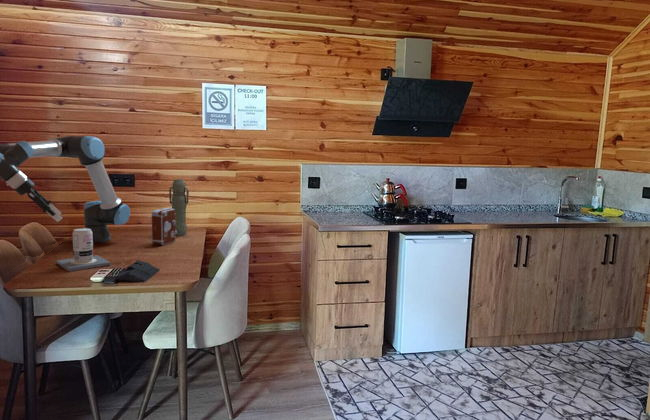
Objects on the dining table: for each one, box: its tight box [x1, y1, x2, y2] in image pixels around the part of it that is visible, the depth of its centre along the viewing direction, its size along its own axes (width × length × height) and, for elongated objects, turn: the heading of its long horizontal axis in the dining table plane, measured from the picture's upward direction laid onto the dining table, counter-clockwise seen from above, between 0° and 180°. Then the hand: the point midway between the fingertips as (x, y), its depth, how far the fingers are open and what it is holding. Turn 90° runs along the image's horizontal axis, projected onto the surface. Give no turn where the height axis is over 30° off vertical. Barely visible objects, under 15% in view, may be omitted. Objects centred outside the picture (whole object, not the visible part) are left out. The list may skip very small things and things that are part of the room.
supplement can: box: [72, 227, 94, 263], centre depth 221 cm, size 8×8×15 cm
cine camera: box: [151, 207, 177, 246], centre depth 275 cm, size 9×19×20 cm, turn 166°
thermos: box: [168, 178, 190, 237], centre depth 297 cm, size 9×12×35 cm
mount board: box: [56, 254, 111, 272], centre depth 223 cm, size 18×18×2 cm
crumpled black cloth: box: [115, 260, 160, 283], centre depth 208 cm, size 15×22×5 cm
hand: (59, 217), depth 217 cm, fingers open, 13 cm apart
